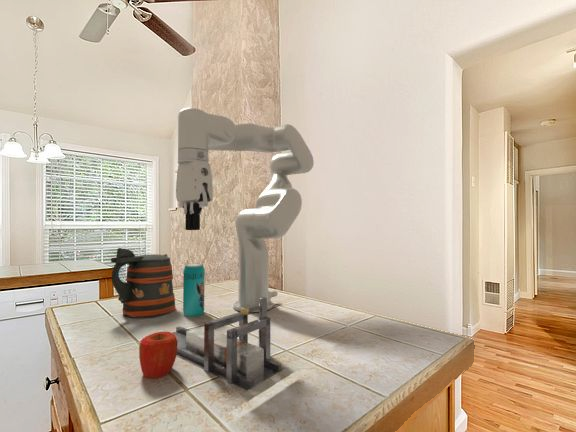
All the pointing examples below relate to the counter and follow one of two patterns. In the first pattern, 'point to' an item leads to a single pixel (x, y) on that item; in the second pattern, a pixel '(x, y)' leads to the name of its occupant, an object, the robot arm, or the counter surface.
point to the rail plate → (218, 369)
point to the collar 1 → (209, 335)
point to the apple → (157, 354)
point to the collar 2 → (242, 330)
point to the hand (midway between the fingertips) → (192, 229)
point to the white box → (247, 354)
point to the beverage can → (193, 290)
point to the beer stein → (144, 284)
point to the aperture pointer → (262, 312)
